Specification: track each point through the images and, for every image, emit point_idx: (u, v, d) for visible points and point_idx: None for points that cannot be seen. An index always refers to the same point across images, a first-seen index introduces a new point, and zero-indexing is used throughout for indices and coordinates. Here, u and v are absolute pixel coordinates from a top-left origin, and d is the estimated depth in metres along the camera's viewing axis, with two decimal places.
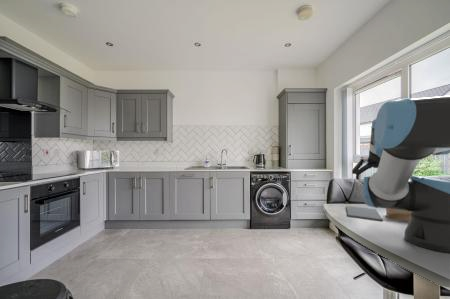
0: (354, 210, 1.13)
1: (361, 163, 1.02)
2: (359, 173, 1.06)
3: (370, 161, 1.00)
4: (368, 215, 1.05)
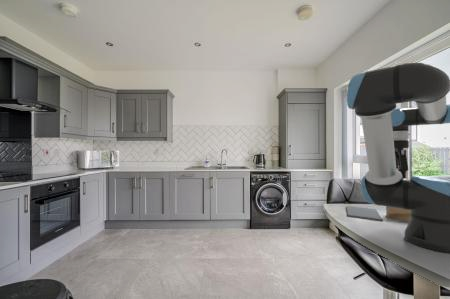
0: (354, 210, 1.13)
1: None
2: None
3: None
4: (368, 215, 1.05)
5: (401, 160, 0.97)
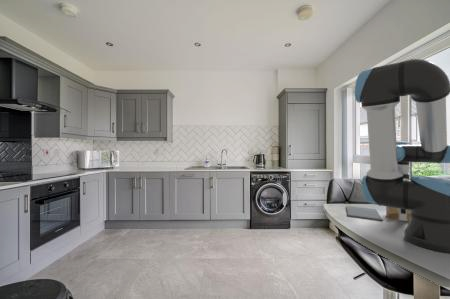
0: (354, 210, 1.13)
1: None
2: None
3: None
4: (368, 215, 1.05)
5: None
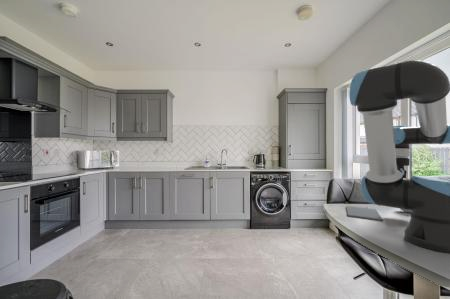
0: (354, 210, 1.13)
1: None
2: None
3: None
4: (368, 215, 1.05)
5: None
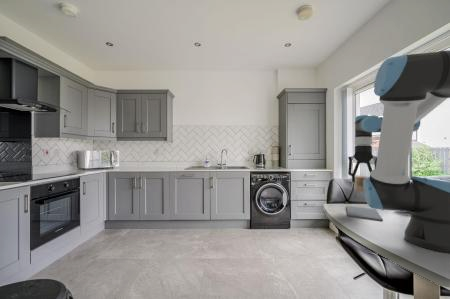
0: (354, 210, 1.13)
1: (350, 160, 1.13)
2: (354, 173, 1.12)
3: (356, 155, 1.11)
4: (368, 215, 1.05)
5: None
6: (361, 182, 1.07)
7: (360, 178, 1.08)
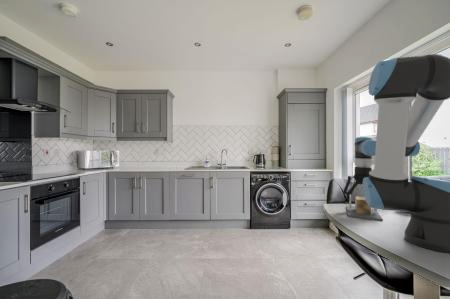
0: (354, 210, 1.13)
1: (349, 180, 1.13)
2: (349, 192, 1.13)
3: (356, 177, 1.11)
4: (368, 215, 1.05)
5: None
6: (361, 204, 1.07)
7: (360, 200, 1.08)
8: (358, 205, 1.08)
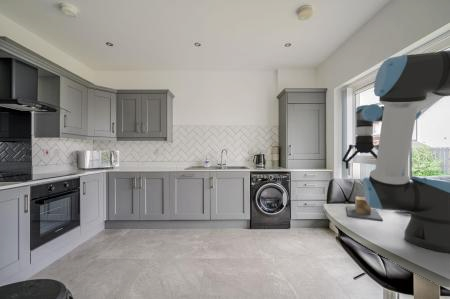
0: (354, 210, 1.13)
1: (350, 148, 1.13)
2: (348, 160, 1.13)
3: (357, 146, 1.12)
4: (368, 215, 1.05)
5: None
6: (361, 204, 1.07)
7: (360, 200, 1.08)
8: (358, 205, 1.08)
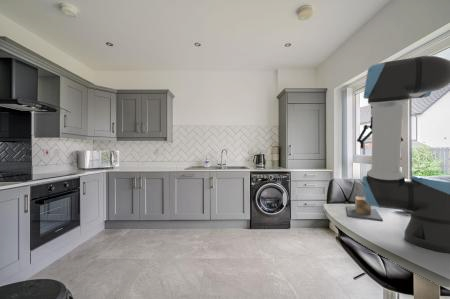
0: (354, 210, 1.13)
1: (365, 128, 1.17)
2: (363, 140, 1.17)
3: None
4: (368, 215, 1.05)
5: None
6: (361, 204, 1.07)
7: (360, 200, 1.08)
8: (358, 205, 1.08)
